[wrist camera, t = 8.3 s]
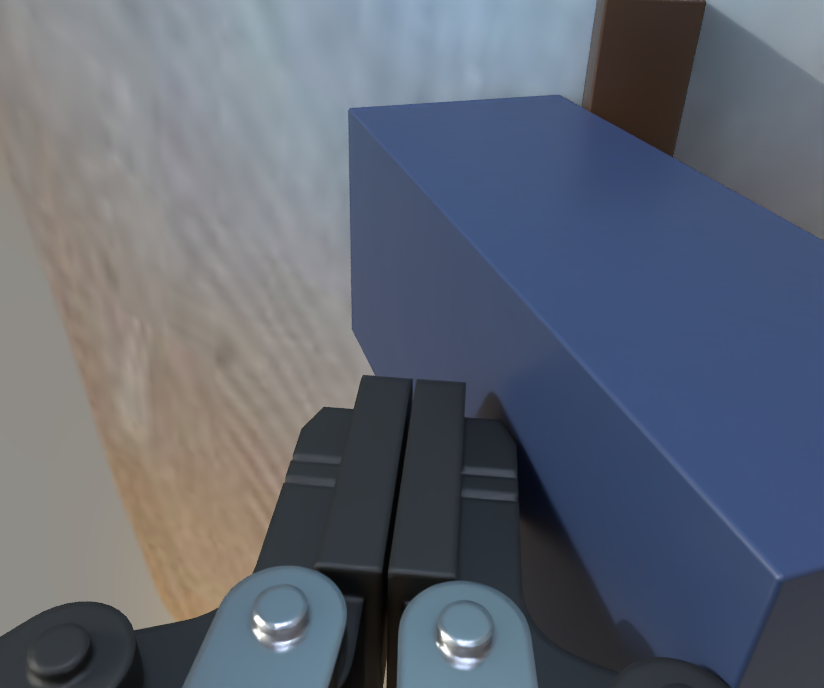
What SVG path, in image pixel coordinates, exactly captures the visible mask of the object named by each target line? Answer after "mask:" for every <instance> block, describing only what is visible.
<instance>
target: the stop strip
mask: <svg viewBox="0 0 824 688" xmlns="http://www.w3.org/2000/svg"><path fill="white" fill-rule="evenodd" d="M705 7H706V1H705V0H597V4H596V11H595V18H594V24H593V31H592V38H591V45H590V52H589V59H588V65H587V72H586V79H585V86H584V93H583V100H582V108H584V109H586V110H588V111H590V112H591V113H593V114H595V115H597V116H599V117H600V118H602V119H604V120H606V121H608V122H609V123H611V124H613V125H615V126H617V127H619V128H620V129H622V130H624V131H626V132H628V133H629V134H631V135H633V136H635V137H637V138H638V139H640V140H642V141H644V142H646V143H648V144H649V145H651V146H653V147H655V148H657V149H658V150H660V151H662V152H664V153H666V154H667V155H669V156H671V157H673V154H674V149H675V145H676V140H677V136H678V131H679V126H680V122H681V117H682V113H683V108H684V104H685V99H686V94H687V90H688V85H689V81H690V76H691V71H692V67H693V62H694V58H695V53H696V48H697V44H698V39H699V35H700V30H701V25H702V21H703V16H704V12H705Z"/></svg>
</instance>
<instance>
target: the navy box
mask: <svg viewBox="0 0 824 688" xmlns="http://www.w3.org/2000/svg"><path fill="white" fill-rule="evenodd" d="M348 121H349V179H350V238H351V297H352V330H353V332H354V334H355V336H356V338H357V340H358V342H359V344H360V346H361V348H362V350H363V352H364V354H365V356H366V358H367V360H368V362H369V364H370V366H371V368H372V370H373V372H374V374H375V376H383V377H397V378H410V379H413V398H414V391H415V384H416V379H427V380H441V381H455V382H466V396H465V416H464V417H468V418H481V419H494V420H501V421H502V423H503V424H504V426H505V428H506V429H507V431H508V432H509V434H510V436H511V437H512V439H513V440H514V442H515V443H516V446H517V470H518V474H517V478H518V495H519V496H518V502H519V520H520V545H521V570H522V591H523V598H524V602H525V605H526V608H527V610H528V612H529V614H530V616H531V618H532V619H533V621H534V622H535V624H536V625H537V626H538V628H539V629H540V630H541V631H542V632H543V633H544V634H545V635H546V636H547V637H548V638H549V639H550V640H552V641H553V642H554V643H555V644H557V645H558V646H560V647H561V648H563V649H565V650H566V651H568V652H570V653H572V654H574V655H576V656H578V657H581V658H583V659H586V660H588V661H591V662H593V663H596V664H598V665H601V666H603V667H606V668H608V669H611V670H613V671H616V672H618V673H619V672H621V671H622V670H623V669H624V668H625V667H626V666H628V665H630V664H632V663H634V662H636V661H639V660H642V659H645V658H653V657H669V658H674V659H680V660H683V661H686V662H689V663H692V664H695V665H697V666H699V667H701V668H703V669H705V670H707V671H709V672H710V673H712V674H713V675H715V676H716V677H718V678H719V679H720V680H721V681H723V682H724V683H725V684H726V685H728V686H729V687H730V688H824V241H823V240H821V239H820V238H818V237H816V236H814V235H812V234H811V233H809V232H807V231H805V230H803V229H801V228H800V227H798V226H796V225H794V224H792V223H791V222H789V221H787V220H785V219H783V218H782V217H780V216H778V215H776V214H774V213H773V212H771V211H769V210H767V209H765V208H763V207H762V206H760V205H758V204H756V203H754V202H753V201H751V200H749V199H747V198H745V197H744V196H742V195H740V194H738V193H736V192H734V191H733V190H731V189H729V188H727V187H725V186H724V185H722V184H720V183H718V182H716V181H715V180H713V179H711V178H709V177H707V176H705V175H704V174H702V173H700V172H698V171H696V170H695V169H693V168H691V167H689V166H687V165H686V164H684V163H682V162H680V161H678V160H676V159H675V158H673V157H671V156H669V155H667V154H666V153H664V152H662V151H660V150H658V149H657V148H655V147H653V146H651V145H649V144H648V143H646V142H644V141H642V140H640V139H638V138H637V137H635V136H633V135H631V134H629V133H628V132H626V131H624V130H622V129H620V128H619V127H617V126H615V125H613V124H611V123H609V122H608V121H606V120H604V119H602V118H600V117H599V116H597V115H595V114H593V113H591V112H590V111H588V110H586V109H584V108H582V107H580V106H579V105H577V104H575V103H573V102H571V101H570V100H568V99H566V98H564V97H562V96H561V95H548V96H532V97H517V98H501V99H485V100H470V101H454V102H439V103H423V104H407V105H392V106H376V107H361V108H350V109H349V110H348Z"/></svg>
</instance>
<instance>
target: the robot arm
mask: <svg viewBox="0 0 824 688" xmlns="http://www.w3.org/2000/svg"><path fill="white" fill-rule="evenodd" d="M465 396H466V382H455V381H441V380H427V379H416V384H415V391H414V398H413V379H410V378H397V377H383V376H369V375H363V376H362V378H361V382H360V386H359V390H358V394H357V398H356V402H355V406H354V409H344V408H331V407H323V408H322V409H321V410H320V411H319V412H318V413H317V414H316V415H315V416H314V417H313V418H312V419H311V420H310V421H309V422H308V423H307V424H306V425H305V426H304V427H303V428H302V429H301V432H300V435H299V438H298V441H297V444H296V447H295V450H294V453H293V460H292V461H291V462H290V465H289V468H288V471H287V474H286V477H285V478H286V479H285V483H283V486H282V489H281V492H280V495H279V498H278V501H277V504H276V507H275V510H274V513H273V516H272V519H271V522H270V525H269V528H268V531H267V534H266V537H265V540H264V543H263V546H262V549H261V552H260V555H259V558H258V561H257V564H256V567H255V569H254V571H253V574H252V575H250V576H248V577H246V578H245V579H243V580H242V581H240V582H239V583H238V584H237V585H235V586H234V587H233V588H232V589H231V590H230V591H229V592H228V594H227V595H226V596H225V597H224V599H223V601H222V602H221V604H220V606H219V608H217V609H215V610H213V611H211V612H209V613H207V614H204V615H202V616H199V617H196V618H193V619H189V620H185V621H180V622H175V623H170V624H165V625H160V626H154V627H150V628H145V629H140V630H133V627H132V624H131V623H130V622H129V620H128V618H127V617H126V616H125V615H124V614H123V613H121V612H120V611H119V610H117V609H116V608H114V607H112V606H109V605H106V604H103V603H97V602H74V603H67V604H64V605H60V606H56V607H54V608H51V609H48V610H46V611H43V612H42V613H40V614H38V615H36V616H34V617H32V618H30V619H29V620H28V621H26V622H24V623H22V624H21V625H19V626H17V627H16V628H14V629H12V630H11V631H9V632H7V633H6V634H4V635H3V636H1V637H0V688H383V683H384V675H385V668H386V660H387V688H730V687H729V686H728V685H726V684H725V683H724V682H723V681H721V680H720V679H719V678H718V677H716V676H715V675H713V674H712V673H710V672H709V671H707V670H705V669H703V668H701V667H699V666H697V665H695V664H692V663H689V662H686V661H683V660H680V659H674V658H669V657H653V658H645V659H642V660H639V661H636V662H634V663H632V664H630V665H628V666H626V667H625V668H624V669H623V670H622V671H621V672H619V673H618V672H616V671H613V670H611V669H608V668H606V667H603V666H601V665H598V664H596V663H593V662H591V661H588V660H586V659H583V658H581V657H578V656H576V655H574V654H572V653H570V652H568V651H566V650H565V649H563V648H561V647H560V646H558V645H557V644H555V643H554V642H553V641H552V640H550V639H549V638H548V637H547V636H546V635H545V634H544V633H543V632H542V631H541V630H540V629H539V628H538V626H537V625H536V624H535V622H534V621H533V619H532V618H531V616H530V614H529V612H528V610H527V608H526V605H525V602H524V598H523V591H522V570H521V545H520V520H519V502H518V496H519V495H518V478H517V474H518V470H517V446H516V443H515V442H514V440H513V439H512V437H511V436H510V434H509V432H508V431H507V429H506V428H505V426H504V424H503V423H502V421H501V420H494V419H481V418H468V417H464V416H465Z"/></svg>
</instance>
